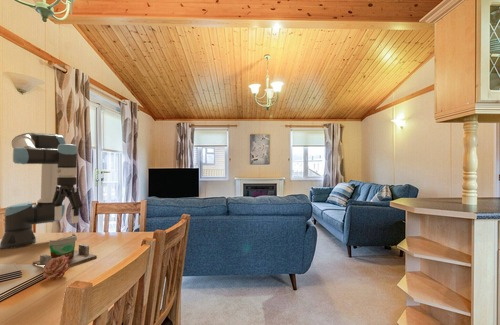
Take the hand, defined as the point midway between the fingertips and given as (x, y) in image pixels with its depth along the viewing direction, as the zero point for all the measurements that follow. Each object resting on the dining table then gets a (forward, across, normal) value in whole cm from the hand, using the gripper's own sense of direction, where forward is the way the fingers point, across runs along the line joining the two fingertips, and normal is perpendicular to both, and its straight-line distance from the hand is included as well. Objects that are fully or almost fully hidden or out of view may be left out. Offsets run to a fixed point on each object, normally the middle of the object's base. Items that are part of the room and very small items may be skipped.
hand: (66, 221), depth 119 cm
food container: (+18, +1, 0) cm, 18 cm away
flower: (+19, +16, -12) cm, 28 cm away
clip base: (+19, 0, 0) cm, 19 cm away
